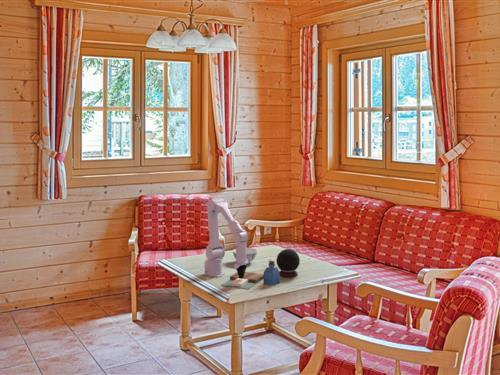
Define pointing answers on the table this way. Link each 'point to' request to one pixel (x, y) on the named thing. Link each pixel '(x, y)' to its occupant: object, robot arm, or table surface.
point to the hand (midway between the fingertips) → (241, 278)
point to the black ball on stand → (288, 263)
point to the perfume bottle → (271, 274)
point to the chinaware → (248, 254)
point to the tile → (239, 282)
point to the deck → (249, 277)
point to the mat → (246, 286)
